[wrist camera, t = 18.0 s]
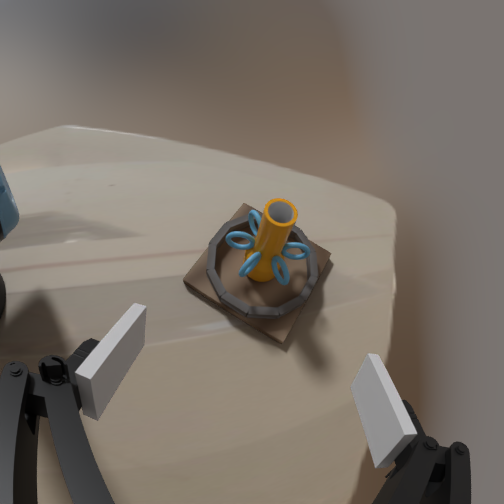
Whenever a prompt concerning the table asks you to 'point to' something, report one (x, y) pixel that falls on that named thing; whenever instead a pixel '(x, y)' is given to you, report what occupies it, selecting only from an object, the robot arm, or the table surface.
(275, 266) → the cylinder
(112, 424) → the table surface
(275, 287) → the hub board
